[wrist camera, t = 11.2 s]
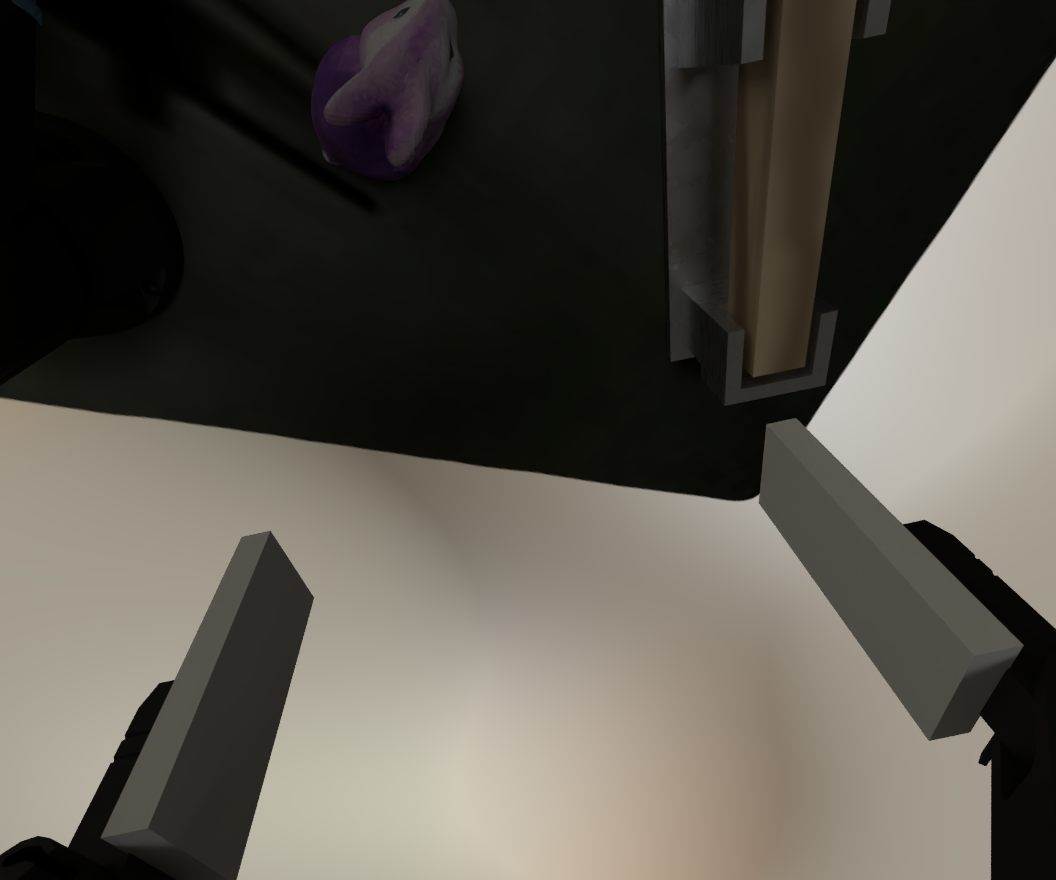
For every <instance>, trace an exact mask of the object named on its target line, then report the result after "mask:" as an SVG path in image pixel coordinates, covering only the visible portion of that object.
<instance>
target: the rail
mask: <svg viewBox="0 0 1056 880" xmlns="http://www.w3.org/2000/svg"><path fill="white" fill-rule="evenodd" d="M856 1H857V0H767V2H766V17H765V32H764V47H763V60H758V61H753V62H749V63H744V64H739V71H738V94H737V116H736V139H735V161H734V183H733V206H732V228H731V250H730V273H729V295H728V316H729V317H731V318H732V319H733V320H734V321H735V322H736V323H737V324H739V325H740V326H741V327H742V328H743V329H744V330H745V332H744V347H743V362H742V367H743V368H744V369H745V370H746V371H747V372H748V373H749V374H750V375H751V376H752V377H757V376H762V375H767V374H772V373H777V372H781V371H786V370H791V369H796V368H801V367H805V362H806V355H807V348H808V340H809V333H810V326H811V319H812V312H813V305H814V298H815V291H816V284H817V277H818V270H819V263H820V256H821V249H822V242H823V234H824V227H825V220H826V213H827V206H828V199H829V192H830V185H831V178H832V171H833V164H834V157H835V150H836V143H837V136H838V129H839V121H840V114H841V107H842V100H843V93H844V86H845V79H846V72H847V65H848V58H849V51H850V44H851V37H852V30H853V23H854V15H855V8H856Z"/></svg>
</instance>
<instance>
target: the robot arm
mask: <svg viewBox="0 0 1056 880" xmlns="http://www.w3.org/2000/svg"><path fill="white" fill-rule="evenodd" d="M36 24H38V25H41V26H42V24H43V16H42V12H41V10H40V9H39V7H38V6H37V5H36V0H0V386H1V385H2V384H4V383H5V382H7V381H8V380H10V379H11V378H13V377H14V376H16V375H17V374H19V373H20V372H22V371H23V370H25V369H26V368H28V367H29V366H31V365H32V364H34V363H35V362H37V361H38V360H40V359H41V358H43V357H44V356H46V355H47V354H49V353H50V352H52V351H53V350H55V349H56V348H58V347H59V346H61V345H62V344H63V343H65V342H66V341H68V340H69V339H75V338H83V337H90V336H98V335H105V334H112V333H117V332H121V331H124V330H127V329H130V328H133V327H135V326H137V325H139V324H141V323H143V322H145V321H146V320H147V319H149V318H150V317H152V316H153V315H154V314H156V313H157V312H158V311H160V310H161V309H162V308H163V307H164V306H165V305H166V304H167V303H168V302H169V301H170V299H171V298H172V297H173V295H174V293H175V292H176V290H177V287H178V285H179V282H180V279H181V275H182V268H183V253H182V245H181V240H180V236H179V232H178V229H177V226H176V224H175V221H174V219H173V216H172V214H171V212H170V210H169V208H168V206H167V205H166V203H165V201H164V199H163V198H162V196H161V195H160V193H159V192H158V190H157V189H156V188H155V186H154V185H153V184H152V182H151V181H150V180H149V179H148V178H147V176H146V175H145V174H144V173H143V172H142V171H141V170H140V169H139V168H138V167H137V166H136V165H135V164H134V163H133V162H132V161H131V160H130V159H129V158H128V157H127V156H126V155H124V154H123V153H122V152H121V151H119V150H118V149H117V148H116V147H114V146H113V145H112V144H110V143H109V142H107V141H106V140H104V139H103V138H101V137H100V136H98V135H96V134H95V133H93V132H91V131H89V130H87V129H85V128H83V127H81V126H79V125H77V124H75V123H73V122H70V121H68V120H65V119H62V118H59V117H56V116H53V115H49V114H45V113H41V112H35V36H36ZM759 504H760V505H761V507H762V508H763V509H764V511H765V512H766V513H767V515H768V516H769V518H770V519H771V520H772V522H773V523H774V525H775V526H776V527H777V529H778V530H779V532H780V533H781V534H782V536H783V537H784V539H785V540H786V541H787V543H788V544H789V546H790V547H791V548H792V550H793V551H794V553H795V554H796V556H797V557H798V558H799V559H800V561H801V563H802V564H803V565H804V567H805V568H806V570H807V571H808V572H809V574H810V575H811V577H812V578H813V579H814V580H815V582H816V583H817V585H818V586H819V587H820V589H821V591H822V592H823V593H824V595H825V596H826V597H827V599H828V600H829V602H830V603H831V605H832V606H833V607H834V609H835V610H836V611H837V612H838V614H839V616H840V617H841V618H842V620H843V621H844V622H845V624H846V625H847V627H848V628H849V630H850V631H851V632H852V634H853V635H854V637H855V638H856V639H857V641H858V642H859V644H860V645H861V646H862V648H863V649H864V650H865V652H866V653H867V655H868V656H869V657H870V659H871V660H872V662H873V663H874V665H875V666H876V667H877V669H878V670H879V671H880V673H881V674H882V676H883V677H884V679H885V680H886V681H887V683H888V684H889V686H890V687H891V688H892V690H893V691H894V693H895V694H896V695H897V697H898V698H899V700H900V701H901V702H902V704H903V705H904V707H905V708H906V709H907V711H908V712H909V713H910V715H911V716H912V718H913V719H914V721H915V722H916V723H917V725H918V726H919V728H920V729H921V730H922V732H923V733H924V735H925V736H926V737H927V739H928V740H929V741H930V740H935V739H940V738H945V737H949V736H955V735H959V734H964V733H969V732H971V730H972V728H973V727H974V725H975V723H976V722H977V720H978V719H979V717H980V716H981V717H982V718H983V719H984V720H985V722H986V723H987V724H988V725H989V726H990V728H991V729H992V730H993V731H994V732H995V734H994V735H993V736H992V738H991V740H990V741H989V743H988V744H987V746H986V747H985V749H984V750H983V751H982V753H981V756H980V759H979V762H978V763H979V764H982V765H984V766H986V765H987V764H988V763H989V761H990V760H991V762H992V764H991V765H992V766H991V770H992V771H991V773H992V774H991V790H992V791H991V880H1056V629H1055V628H1054V627H1053V626H1052V625H1051V624H1050V623H1048V622H1047V621H1046V620H1045V619H1044V618H1043V617H1042V616H1041V615H1040V614H1038V613H1037V612H1036V611H1035V610H1034V609H1033V608H1032V607H1031V606H1030V605H1029V604H1028V603H1027V602H1026V601H1024V600H1023V599H1022V598H1021V597H1020V596H1019V595H1018V594H1017V593H1016V592H1015V591H1013V590H1012V589H1011V588H1010V587H1009V586H1008V585H1007V584H1006V583H1005V582H1004V581H1003V580H1002V579H1000V578H999V577H998V576H994V575H993V573H992V570H991V569H990V568H988V567H987V566H986V565H985V564H984V563H983V562H982V561H980V559H976V558H975V555H974V554H973V553H972V552H971V551H970V550H969V549H968V548H967V547H966V546H964V545H963V544H962V543H961V542H960V541H959V540H958V539H957V538H956V537H955V536H954V535H952V534H950V533H948V532H946V531H944V530H943V529H941V528H939V527H937V526H935V525H933V524H931V523H930V522H928V521H926V520H922V521H917V522H912V523H908V524H902V523H901V522H899V520H897V519H896V518H895V517H894V516H893V515H892V514H891V513H890V512H889V511H888V510H887V509H886V508H885V507H884V506H883V505H882V504H881V503H880V502H879V501H878V500H877V499H876V498H875V497H874V496H873V495H872V494H871V493H870V492H869V491H868V490H867V489H866V488H865V487H864V486H863V485H862V484H861V483H860V482H859V481H858V480H857V479H856V478H855V477H854V476H853V475H852V474H851V473H850V472H849V471H848V470H847V469H846V468H845V467H844V466H843V465H842V464H841V463H840V462H839V461H838V460H837V459H836V458H835V457H834V456H833V455H832V454H831V453H830V452H829V451H828V450H827V449H826V448H825V447H824V446H823V445H822V444H821V443H820V442H819V441H818V440H817V439H816V438H815V437H814V436H813V435H812V434H811V433H810V432H809V431H808V430H807V429H806V428H805V427H804V426H803V425H802V424H801V423H800V422H799V421H798V420H797V419H796V418H794V419H790V420H785V421H780V422H776V423H771V424H767V425H766V435H765V446H764V456H763V466H762V477H761V487H760V497H759ZM313 599H314V597H313V595H312V594H311V592H310V591H309V589H308V588H307V586H306V585H305V583H304V582H303V580H302V579H301V577H300V575H299V574H298V572H297V571H296V570H295V568H294V567H293V565H292V563H291V562H290V560H289V559H288V557H287V556H286V554H285V552H284V551H283V549H282V548H281V546H280V545H279V543H278V542H277V540H276V539H275V537H274V536H273V534H272V533H271V531H268V532H263V533H258V534H254V535H250V536H244V537H242V538H241V540H240V542H239V544H238V546H237V548H236V551H235V553H234V555H233V557H232V559H231V561H230V563H229V565H228V568H227V570H226V572H225V574H224V576H223V578H222V580H221V583H220V585H219V587H218V589H217V591H216V593H215V595H214V597H213V600H212V602H211V604H210V606H209V608H208V610H207V612H206V614H205V617H204V619H203V621H202V623H201V625H200V627H199V629H198V631H197V634H196V636H195V638H194V640H193V642H192V644H191V646H190V649H189V651H188V653H187V655H186V657H185V659H184V662H183V664H182V666H181V668H180V670H179V672H178V674H177V676H176V678H175V680H172V681H168V682H163V683H159V684H158V685H157V687H156V688H155V689H154V690H153V692H152V693H151V694H150V695H149V696H148V697H147V699H146V700H145V701H144V702H143V704H142V705H141V706H140V707H139V708H138V710H137V712H136V714H135V716H134V719H133V720H132V722H131V724H130V726H129V728H128V730H127V732H126V734H125V740H123V741H122V742H121V744H120V746H119V748H118V750H117V752H116V754H115V756H114V762H113V763H111V764H110V766H109V767H108V769H107V771H106V773H105V776H104V777H103V779H102V781H101V783H100V785H99V787H98V789H97V791H96V794H95V795H94V797H93V799H92V801H91V803H90V805H89V807H88V809H87V811H86V813H85V815H84V817H83V819H82V821H81V823H80V825H79V827H78V829H77V831H76V833H75V835H74V837H73V839H72V841H71V843H70V845H69V847H68V848H67V847H66V846H64V845H62V844H60V843H58V842H56V841H54V840H52V839H50V838H46V837H40V836H37V837H34V838H31V839H28V840H24V841H21V842H20V843H18V844H16V845H15V846H13V847H12V848H10V849H9V850H7V851H6V852H4V853H3V854H1V855H0V880H236V879H237V876H238V872H239V869H240V865H241V861H242V858H243V854H244V850H245V847H246V843H247V839H248V836H249V832H250V829H251V825H252V821H253V818H254V814H255V810H256V807H257V803H258V799H259V795H260V792H261V788H262V785H263V781H264V778H265V774H266V770H267V767H268V763H269V760H270V756H271V752H272V748H273V745H274V741H275V738H276V734H277V730H278V727H279V723H280V719H281V716H282V712H283V709H284V705H285V701H286V698H287V694H288V690H289V687H290V683H291V679H292V676H293V672H294V668H295V665H296V661H297V657H298V654H299V650H300V646H301V643H302V640H303V636H304V632H305V628H306V625H307V621H308V617H309V614H310V610H311V607H312V603H313Z"/></svg>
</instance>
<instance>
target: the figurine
mask: <svg viewBox="0 0 1056 880" xmlns="http://www.w3.org/2000/svg"><path fill="white" fill-rule="evenodd" d="M463 80H464V65H463V60H462V57H461V55H460V52H459V49H458V46H457V16H456V12H455V10H454V8H453V6H452V4H451V2H450V1H449V0H407V1H405V2H404V3H402V4H401V5H399V6H397V7H395V8H393V9H391V10H389V11H386V12H384V13H383V14H381V15H379V16H378V17H376V18H375V19H373V20H372V21H371V22H369V23H368V24H367V26H366V27H365V28H364V30H363V32H362V35H352V36H348V37H345V38H343V39H341V40H339V41H338V42H336V43H335V44H334V45H333V46H332V47H331V48H330V49H329V50H328V51H327V53H326V54H325V56H324V57H323V59H322V61H321V62H320V64H319V67H318V69H317V73H316V76H315V80H314V84H313V90H312V102H311V114H312V120H313V126H314V128H315V131H316V134H317V136H318V139H319V141H320V143H321V145H322V151H323V155H324V157H325V159H326V160H327V161H328V162H329V163H331V164H334V165H342V166H343V167H345V168H347V169H349V170H351V171H353V172H356V173H358V174H361V175H364V176H367V177H371V178H374V179H380V180H386V181H394V180H400V179H402V178H404V177H406V176H407V175H409V174H411V173H412V172H413V171H414V170H415V169H416V168H417V166H418V165H419V163H420V161H421V160H422V159H423V158H424V157H425V156H426V154H427V153H428V152H429V151H430V150H431V149H432V147H433V146H434V145H435V143H436V142H437V141H438V139H439V137H440V136H441V134H442V132H443V129H444V126H445V123H446V121H447V119H448V118H449V116H450V114H451V112H452V110H453V107H454V105H455V103H456V99H457V97H458V95H459V92H460V90H461V87H462V84H463Z"/></svg>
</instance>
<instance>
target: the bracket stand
mask: <svg viewBox="0 0 1056 880" xmlns="http://www.w3.org/2000/svg"><path fill="white" fill-rule="evenodd" d="M766 2H767V0H659V29H660V71H661V113H662V155H663V196H664V238H665V280H666V321H667V358H668V359H669V360H670V362H673V361H677V360H682V359H687V358H692V357H695V358H696V359H697V360H698V361H699V362H700V363H701V377H702V378H703V380H704V381H705V382H706V383H707V385H708V386H709V387H710V388H711V390H712V391H713V392H714V393H715V394H716V396H717V397H718V398H719V399H720V401H721V402H722V403H723V404H724V405H725V406H726V405H731V404H736V403H741V402H745V401H750V400H755V399H760V398H765V397H770V396H775V395H780V394H785V393H789V392H794V391H799V390H804V389H809V388H814V387H819V386H824V385H825V383H826V377H827V371H828V365H829V359H830V354H831V348H832V342H833V336H834V330H835V324H836V319H837V313H838V310H836V309H835V308H833V307H831V306H830V305H828V304H826V303H825V302H823V301H821V300H820V299H818V298H816V297H815V298H814V305H813V312H812V319H811V326H810V333H809V340H808V348H807V355H806V362H805V367H801V368H796V369H791V370H786V371H781V372H777V373H772V374H767V375H762V376H757V377H752V376H751V375H750V374H749V373H748V372H747V371H746V370H745V369H744V368H743V367H742V362H743V347H744V332H745V330H744V329H743V328H742V327H741V326H740V325H739V324H737V323H736V322H735V321H734V320H733V319H732V318H731V317H729V316H728V295H729V273H730V250H731V228H732V206H733V183H734V161H735V139H736V116H737V94H738V71H739V64H744V63H749V62H753V61H758V60H763V47H764V32H765V17H766ZM890 4H891V0H857V1H856V8H855V15H854V23H853V30H852V37H851V39H860V38H867V37H871V36H876V35H881V34H885V33H886V27H887V21H888V16H889V10H890Z"/></svg>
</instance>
